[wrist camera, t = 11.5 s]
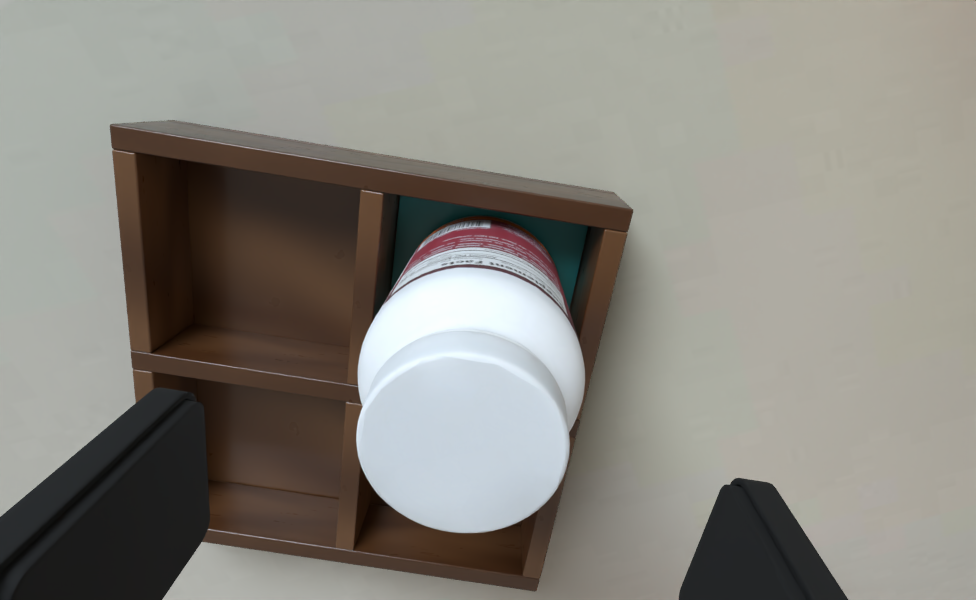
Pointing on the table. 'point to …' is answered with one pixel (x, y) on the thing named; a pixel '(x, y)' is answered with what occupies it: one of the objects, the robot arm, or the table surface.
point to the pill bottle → (470, 380)
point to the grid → (320, 323)
